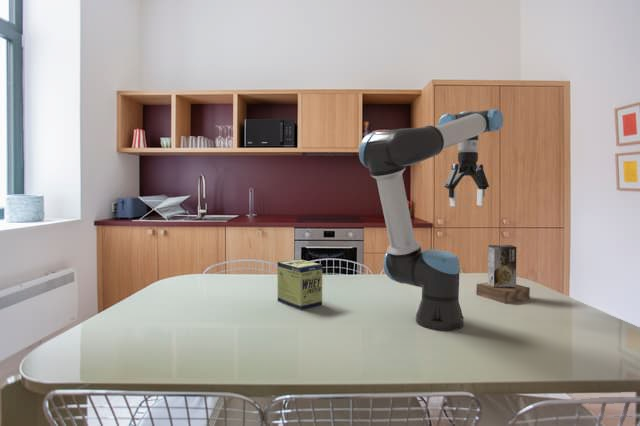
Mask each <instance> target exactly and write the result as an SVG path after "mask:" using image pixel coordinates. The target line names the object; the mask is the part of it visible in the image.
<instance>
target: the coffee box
mask: <svg viewBox="0 0 640 426" xmlns="http://www.w3.org/2000/svg"><path fill="white" fill-rule="evenodd" d="M487 248H488V259H487V264H488V265H487V269H488V270H487V282H488V284H489V285H491V286H493V287H516V284H517V246H514V245H512V244H488V247H487Z"/></svg>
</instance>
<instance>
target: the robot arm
mask: <svg viewBox="0 0 640 426" xmlns="http://www.w3.org/2000/svg"><path fill="white" fill-rule="evenodd" d="M503 125H504V115H503V113H502V111H501V110H500V109H486V110H479V111H475V110H467V111H461V112H459V113H444V114H442V115H441V116H440V118H439V120H438V123H437V125H436V126H435V125H426V126H422V127H421V126H420V127H411V128H410V127H408V128H407V127H406V128H397V129H390V130H389V129H388V130H387V129H386V130H377V131H374V132H370V133H368V134H366V135H364V137H363V138H362V140H361V142H360V144H359V148H358V157H359V161H360V163H361V164H362V165H363V166H364V167H365V168H367V169H368V170H369V174H370V177H372V178H374V179H375V180H376V184H377V188H378V189H377V190H378V194H379V198H380V203H381V208H382V213H383V217H384V222H385V227H386V231H387V236H388V240H389V245H388V247H387V249H386V252H385V254H384V259H383V263H382V266H383V270H384V273H385V274H386V276H387V277H388V278H389V279H390V280H391V281H394V282H397V283H399V284H406V285H409V286H413V287H418V288H421V300H420V303H419V304H418V305H419V306H418V309H417V312H416V313H415V322H416V323H417V324H418V325H419V326H421V327H424V328H427V329H430V330H431V329H432V330H438V331H453V330H459V329H461V328H463V327H464V324H465V319H464V318H465V317H464V316H463V312H462V307H461V304H460V301H459V297H460V295H459V294H460V292H459V291H460V272H461V268H460V259H459V258H458V256H457V255H456V254H454V253H452V252H450V251H445V250H441V249H440V250H439V249H425V250H423V251H422V245H421V243H420V242H419V241H418V240H416V239H415V234H414V228H413V224H412V218H411V213H410V208H409V203H408V202H409V201H408V197H407V192H406V188H405V183H404V178H403V173H404V171H405V170H406V169H407V168H406V167H407V166H412V165H415V164H419V163H421V162H424V161H426V160H428V159H431V158H434V157H435V156H437V155H440V154H441V153H442V151H443V150H444V149H447V148H449V147H452V146H454V145H457V151H458V153H457V162H458V163H452V164H451V168H450V172H449V173H448V176H447V178H446V181H445V184H444V188H446V189H447V190H448V198H449V207H457V189H456V187H457V186H458V184H460V182H461V181H462V179H463V178H464V176H466V177H467V176H468V177H469V176H470V177H471V179H472V180H473V181H474V183H475V184H476V186H477V190H476V206H481V207H482V206H484V198H485V190H487V189H488V188H489V187H490V185H489V182H488V179H487V176H486V173H485V171H484V165H483V163H481V164H480V163H478V164H477V162H478V161H479V153H478V151H479V135H483V134H485V133H489V132H490V133H493V132H497V131H500V130H501V129H502V128H503Z"/></svg>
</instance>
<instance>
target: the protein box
mask: <svg viewBox="0 0 640 426" xmlns="http://www.w3.org/2000/svg"><path fill="white" fill-rule="evenodd" d="M277 302H280V303H282V304H285V305H287V306H290V307H292V308H294V309H297V310H299V309H300V310H299V311H302V310H306V309H311V308H315V307H319V305H320V306H323V264H321V263H316V262H312V261H309V260H304V259H301V258H300V259H299V258H298V259H290V260H283V261H277Z"/></svg>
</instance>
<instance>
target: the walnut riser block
mask: <svg viewBox="0 0 640 426" xmlns="http://www.w3.org/2000/svg"><path fill="white" fill-rule="evenodd" d="M530 289H531V288H530V287H528V286H525V285H520V284H517V283H516V287H493V286H491V285H489V284H488V281H487V282H481V283H476V289H475V290H476V292H475V293H476V296H479V297H482V298H486V299H489V300H492V301H496V302H499V303H503V304H510V303H514V302H521V301H525V300H530V292H531V291H530Z"/></svg>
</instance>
